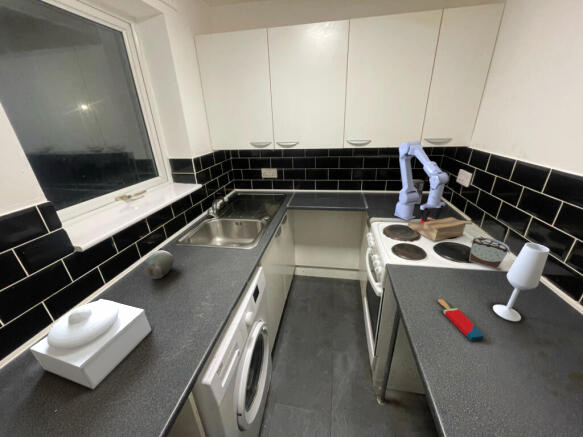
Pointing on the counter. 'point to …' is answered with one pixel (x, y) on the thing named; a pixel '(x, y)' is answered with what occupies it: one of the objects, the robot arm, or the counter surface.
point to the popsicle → (461, 322)
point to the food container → (488, 252)
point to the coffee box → (418, 189)
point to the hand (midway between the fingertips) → (429, 219)
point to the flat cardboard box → (439, 228)
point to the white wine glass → (524, 276)
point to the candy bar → (427, 220)
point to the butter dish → (91, 341)
